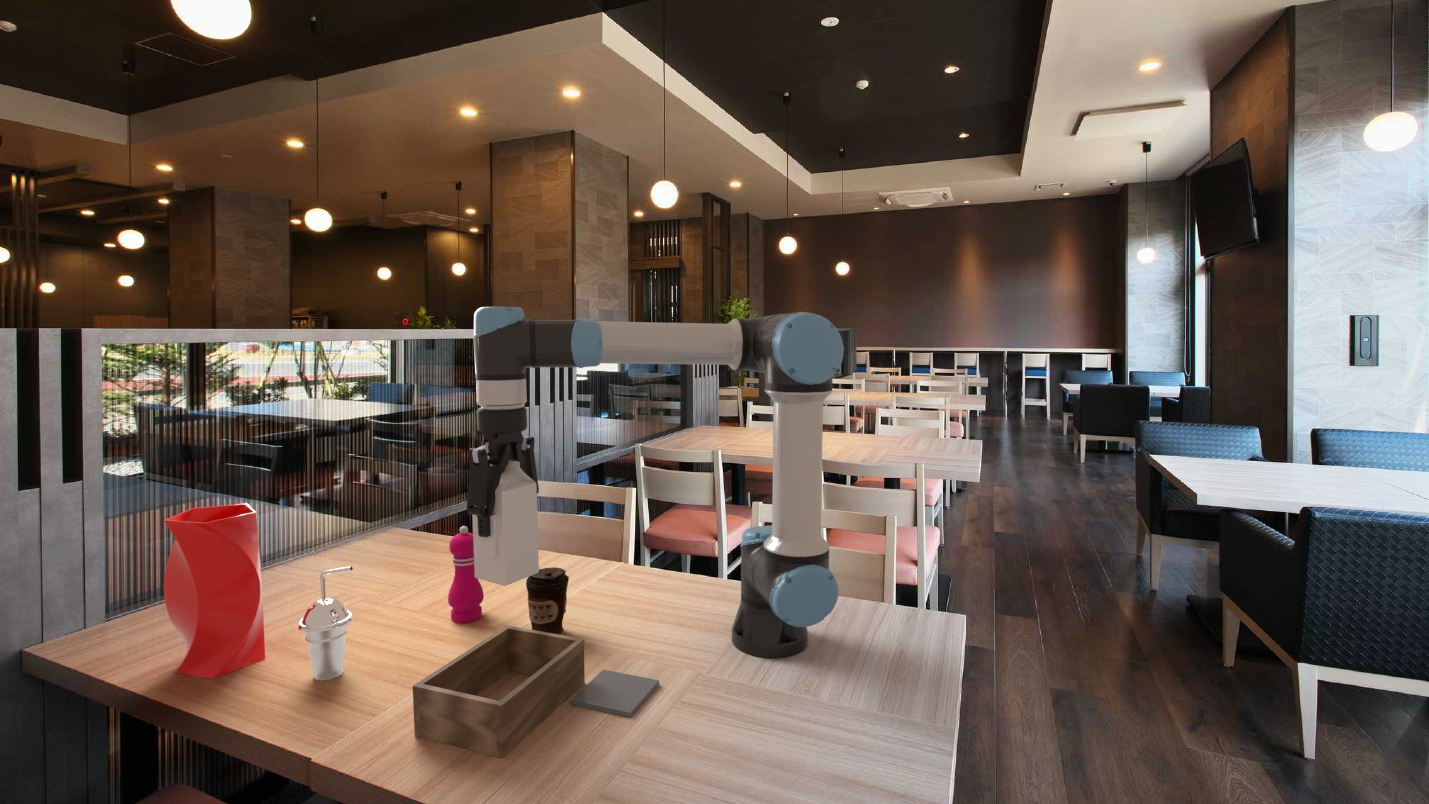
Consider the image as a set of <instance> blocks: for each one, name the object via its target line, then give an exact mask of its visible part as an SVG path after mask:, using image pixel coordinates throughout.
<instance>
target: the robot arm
mask: <svg viewBox="0 0 1429 804" xmlns="http://www.w3.org/2000/svg"><path fill="white" fill-rule="evenodd" d="M843 343H844V342H843V339H842V336H841V334H840V332H839V330H838V329H837V327H836V326H835V325H834V324H833V323H832V322H831V321H830V320H829V319H828V318H826V317H824V316H822V315H820V314H817V313H812V312H805V311H797V312H791V313H788V312H787V313H777V314H772V315H765V316H759V317H751V318H732V319H731V321H730V322H729V323H703V322H702V323H701V322H699V323H698V322H697V323H696V322H649V321H648V322H646V321H645V322H643V321H601V320H599V321H597V320H591V319H589V320H587V319H545V320H544V319H543V320H535V319H526V316H525V312H524V310H523V308H522V307H517V306H481V307H479V308H477V309H476V311H474V314H473V349H474V351H473V353H474V354H473V355H474V368H475V369H474V370H475V380H476V381H475V383H476V384H475V385H476V386H475V389H476V392H475V393H476V405H478V406H480V407H479V408H477V410H476V426H477V431H478V432H480V433H481V434H482V440H481V441H482V442H481V446H479V447H477V448H473V447H471V448H469V450H468V452H467V455H468V461H469V470H468V487H467V499H466V513H467V514H468V515H476V516H477V518H478V535H479V537H480V556H487V557H497V556H498V541H497V515H494V514H493V509H494V505H495V490H496V489H497V487H498V485H499V482H500V478H501V474H502V473H503V472H504V471H505V468H506V465H508V460H510V461H517V462H520V468H521V469H522V471H523V472H524V473H525V474H527V475H528V476H529V477H530V478H531V479H532V480H534V481H535V482H536V487H537V495H538V494H539V491H540V487H539V480H538V473H537V464H536V457H535V442H536V441H535V437H533V436H526V435H525V436H524V435H523V433H522V432H524V431H526V429H527V428H528V409H527V408H526V406H524V405H525V404H526V403H527V402H528V399H527V393H528V392H527V374H526V370H527V368H531V369H532V368H533V369H536V368H578V369H583V368H589V367H590V368H592V367H598V366H599V365H601V364H614V365H615V364H617V365H618V364H621V365H622V364H624V365H625V364H632V365H639V364H640V365H642V364H643V365H649V364H650V365H727V366H729V368H730V369H731V370H733V371H748V372H755V373H756V372H757V373H761V374H764V392H765V393H766V394H767V395H768V397H769V398H771V399H772V401H773V410H772V411H773V416H772V421H773V422H772V423H773V425H772V428H773V429H772V430H773V431H772V495H771V496H772V502H771V503H772V508H771V509H772V510H771V513H772V514H771V515H772V516H771V519H772V520H771V521H772V522H771V525H760V526H759V525H758V526H751V527H749V528H746V529H745V530H744V531H743V532H742V535H741V544H740V550H741V551H740V552H741V553H740V558H741V559H740V560H741V561H740V565H741V566H740V568H741V569H740V603H739V607H738V609H737V613H736V616H735V619H734V620H733V624H732V627H731V642H732V644H733V645H734V646H735V647H736V648H737V649H738V650H739V651H741V652H743V653H746V654H749V655H752V656H756V657H763V658H786V657H789V656H790V657H791V656H793V655H796V654H800V653H801V652H803V650H805V649H804V648H807V646H808V644H807V643H808V642H809V641H808V640H809V639H808V638H809V637H808V636H809V633H808V628H809V627H812V626H814V625H818V624H819V623H821V622H822V621H823V620H825V619H826V617H827V616H829V615H830V614H831V613H832V612H833V610H834V608H835V606H836V605H837V603H838V602H837V601H838V599H839V586H838V581H837V579H836V576H835V575H834V574H833V572H832V571H831V570H830V544H829V543H828V542H827V540H826V539H825V538H824V537H823V536H822V488H823V486H822V479H823V478H822V477H823V474H822V473H823V433H824V432H823V430H824V429H823V426H824V425H823V424H824V423H823V422H824V421H823V420H824V416H823V415H824V402H825V400H826V399H827V398H828V397H829V396H830V395H831V394H832V392H833V380H834V379H833V376H834V375H835V374H836V373H837V371H838V370H839V369H840V367H841V365H842V362H843V359H844V344H843ZM490 464H491V465H492V466H490ZM485 505H486V508H485Z"/></svg>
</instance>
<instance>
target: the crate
mask: <svg viewBox="0 0 1429 804" xmlns="http://www.w3.org/2000/svg"><path fill="white" fill-rule="evenodd" d="M508 672H514V673H519V674H525V675H529V676H530V677H528V678H527V679H525V680H524V681H523V682H522V683H520V684H519V685H518V686H517V687H515V689H513V690H512V691H511V692H509V693H508V694H507V695H505V696H504V697H503V698H502V699H501V700H497V699H492V698H488V697H484V696H480V695H479V696H478V694H480V693H481V692H483V691H484V690H485V689H487V688H488V687H489V686H490V685H492V684H494V683H495V682H496V681H498V680H499V679H500V678H502V676H504V675H506V674H507V673H508ZM585 677H586V676H585V639H584V638H581V637H574V636H569V635H564V634H563V635H558V634H553V633H547V632H542V631H536V630H532V629H530V628H525V627H518V626H514V625H508V624H506V625H505V626H504V627H502V628H500V629H499V630H497V631H496V632H494V633H492V634H491V635H490V636H487V638H485V639H483V640H482V641H481V642H479V643H477V644H475V645H474V646H473V647H471V648H469V649H468V650H466V651H465V652H463V653H461V654H460V655H458V656H457V657H455V658H454V659H452V660H450V661H449V662H447V663H446V664H444V665H443V666H441V667H440V668H438V669H437V670H435V671H434V672H432V673H430V674H428V675H427V676H426V677H424V678H423V679H421V680H420V681H418V682H416V683H415V684H414V685H412V701H413V702H412V703H413V725H414V726H413V728H414V730H413V731H414V736H415V737H418V738H422V739H425V740H430V741H434V742H438V743H441V744H445V745H449V746H453V747H458V748H461V749H464V750H469V751H473V752H477V753H479V754H484V755H488V756H490V757H491V756H492V757H495V758H500V759H504V758H505V757H506V756H507V755H508V754H509V753H510V752H511V751H512V750H514V749H515V748H516V747H517V746H518V745H519V744H521V742H522V741H523V740H524V739H526V738H527V736H529V735H530V734H531V733H532V732H533V731H534V730H535V729H537V727H538V726H540V725H541V724H542V723H543V722H544V721H545V720H546V719H547V718H548V717H549V716H550V715H551V714H552V713H553V712H555V710H557V709H558V708H559V707H560V706H561V705H563V704H564V702H566V701H567V700H568V699H570V698H569V697H571V696H572V695H573V694H575V693H576V691H577V690H578V689H580V688H581V687H582V686H583V685H584V684H585V682H586V681H585Z"/></svg>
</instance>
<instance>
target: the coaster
mask: <svg viewBox="0 0 1429 804" xmlns="http://www.w3.org/2000/svg"><path fill="white" fill-rule="evenodd" d="M659 686H660V680H659V679H654V678H650V677H649V678H648V677H644V676H638V675H634V674H629V673H624V672H618V671H612V670H608V669H602V670H601V671H599V673H598V674H597V675H595V677H593V679H591V680H590V681H589V682H588V683H587V684H586V685H585V686H584V687H583V688H582V689H581V690H580V691H579V692H577V693H576V694H575V695H574V696H573V697H571V699H570V705H571V706H576V707H580V708H585V709H589V710H595V711H598V712H604V713H609V714H613V715H617V716H622V717H628V718H632V717H633V715H634V714H635V713H636V712H637V711H638V709H640V708H641V706H642V705H643V704H644V703H645V701H647V699H649V697H650V696H651V695H652V694H653V692H654V691H655V690H656V689H657V688H658V687H659Z"/></svg>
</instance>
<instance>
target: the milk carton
mask: <svg viewBox="0 0 1429 804" xmlns="http://www.w3.org/2000/svg"><path fill="white" fill-rule="evenodd" d="M490 466H492V465H491V464H490ZM537 496H538V494H537V487H536V482H535V481H534V480H532V479H531V478H530V477H529V476H528V475H527V474H525V473H524V472H523V471H522V469H521V468H520V462H517V461H510V460H508V465H506V468H505V471H504V472H503V473H502V474H501V478H500V482H499V485H498V487H497V489H496V490H495V505H494V509H493V514H494V515H497V541H498V556H497V557H487V556H480V537H479V535H478V518H477V516H476V515H472V514H471V515H472V534H473V543H474V569H475V578H478V580H481V581H486V582H489V583H492V584H496V585H500V586H504V587H506V586H509V585H512V584H514V583H518V582H519V581H521V580H523V579H527V578H528V577H529V576H532V575H534V574H536V573H539V568H540V567H539V566H540V563H539V528H538V524H539V523H538V497H537ZM485 508H486V505H485Z"/></svg>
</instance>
